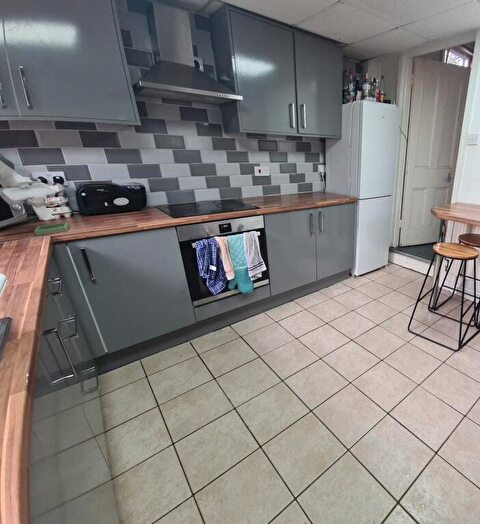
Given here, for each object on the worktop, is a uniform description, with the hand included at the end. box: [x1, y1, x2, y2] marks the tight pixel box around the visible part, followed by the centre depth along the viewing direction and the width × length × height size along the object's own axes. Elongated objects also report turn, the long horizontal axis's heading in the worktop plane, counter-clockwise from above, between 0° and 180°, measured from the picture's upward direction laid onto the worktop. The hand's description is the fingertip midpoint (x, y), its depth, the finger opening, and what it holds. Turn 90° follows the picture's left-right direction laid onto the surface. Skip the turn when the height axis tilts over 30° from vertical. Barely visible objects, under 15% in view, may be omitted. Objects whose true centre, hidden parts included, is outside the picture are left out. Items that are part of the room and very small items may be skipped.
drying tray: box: [33, 221, 70, 236], centre depth 152 cm, size 12×12×2 cm
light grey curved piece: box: [31, 195, 56, 221], centre depth 147 cm, size 5×6×12 cm
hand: (43, 205), depth 147 cm, fingers closed on light grey curved piece, 3 cm apart
